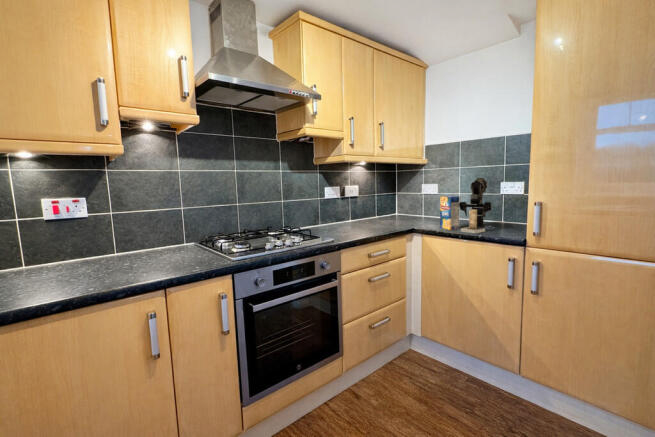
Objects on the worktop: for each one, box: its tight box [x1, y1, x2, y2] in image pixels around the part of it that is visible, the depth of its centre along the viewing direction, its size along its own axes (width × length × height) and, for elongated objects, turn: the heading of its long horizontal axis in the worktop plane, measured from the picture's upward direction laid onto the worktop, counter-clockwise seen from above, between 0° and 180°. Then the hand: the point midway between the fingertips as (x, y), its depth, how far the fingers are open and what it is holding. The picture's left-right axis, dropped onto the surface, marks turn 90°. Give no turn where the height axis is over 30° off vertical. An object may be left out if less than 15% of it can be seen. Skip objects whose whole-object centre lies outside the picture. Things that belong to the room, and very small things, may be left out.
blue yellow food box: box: [439, 195, 461, 231], centre depth 206 cm, size 7×11×22 cm, turn 16°
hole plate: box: [460, 226, 486, 234], centre depth 193 cm, size 10×10×2 cm
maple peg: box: [468, 208, 478, 229], centre depth 193 cm, size 4×4×14 cm
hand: (473, 216), depth 196 cm, fingers open, 9 cm apart
